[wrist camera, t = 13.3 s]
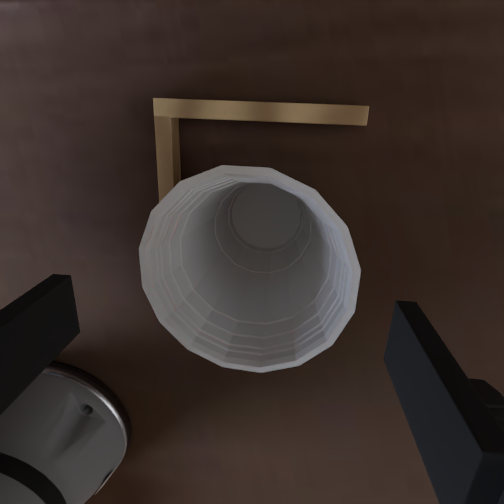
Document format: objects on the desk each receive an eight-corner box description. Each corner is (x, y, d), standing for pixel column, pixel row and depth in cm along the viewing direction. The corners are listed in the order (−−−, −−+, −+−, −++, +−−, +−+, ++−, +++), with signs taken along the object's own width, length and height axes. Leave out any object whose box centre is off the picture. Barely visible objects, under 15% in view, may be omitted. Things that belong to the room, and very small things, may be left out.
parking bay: (172, 299, 32) (165, 310, 30) (161, 98, 26) (152, 97, 24) (334, 314, 30) (337, 325, 29) (364, 106, 24) (369, 105, 23)
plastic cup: (208, 126, 26) (143, 137, 15) (353, 161, 26) (398, 201, 15) (186, 259, 30) (122, 346, 19) (311, 291, 30) (320, 398, 19)
